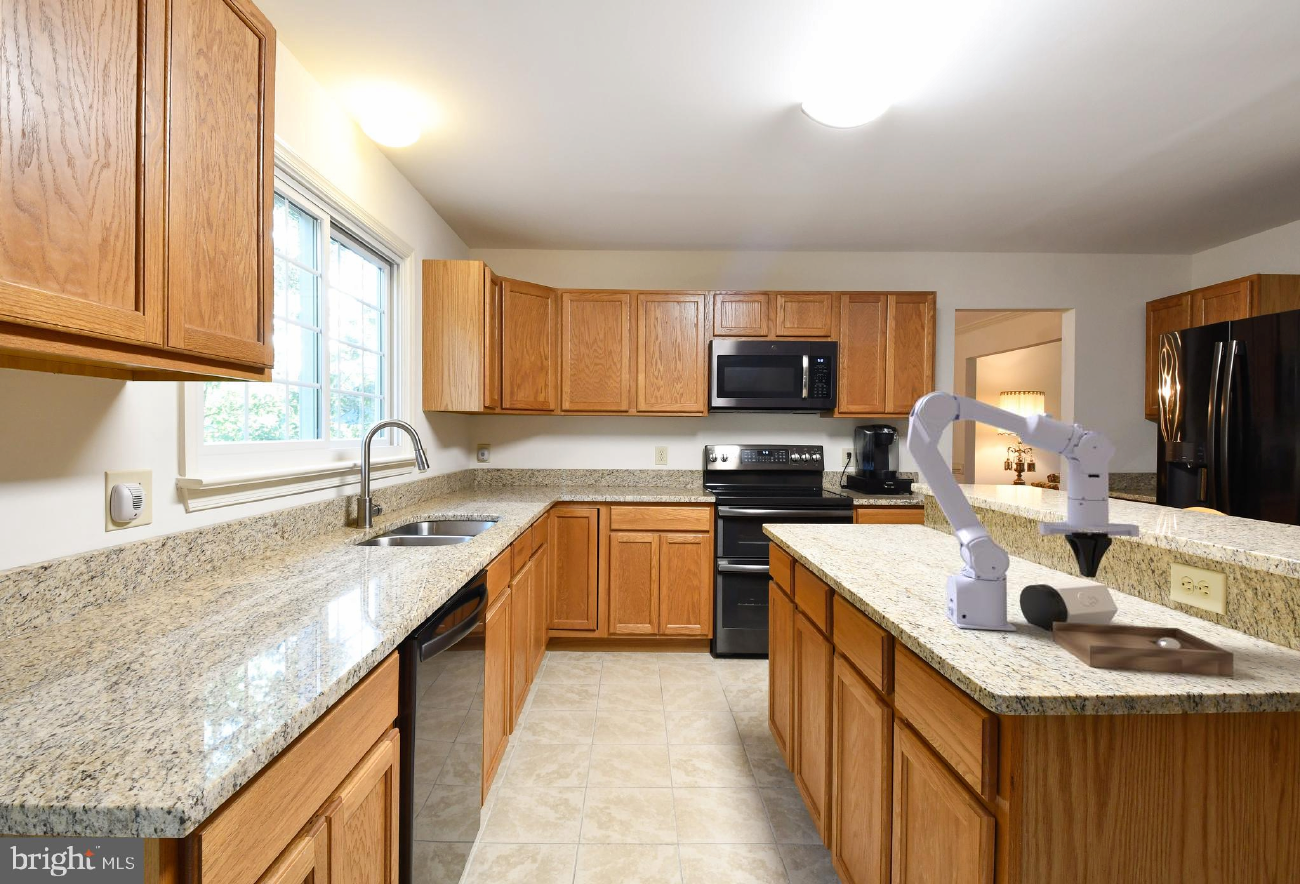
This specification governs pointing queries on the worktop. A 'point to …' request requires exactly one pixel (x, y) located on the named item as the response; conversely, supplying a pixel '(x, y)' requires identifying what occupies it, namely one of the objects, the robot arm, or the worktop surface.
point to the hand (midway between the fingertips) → (1088, 576)
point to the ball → (1168, 643)
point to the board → (1141, 648)
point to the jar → (1067, 603)
